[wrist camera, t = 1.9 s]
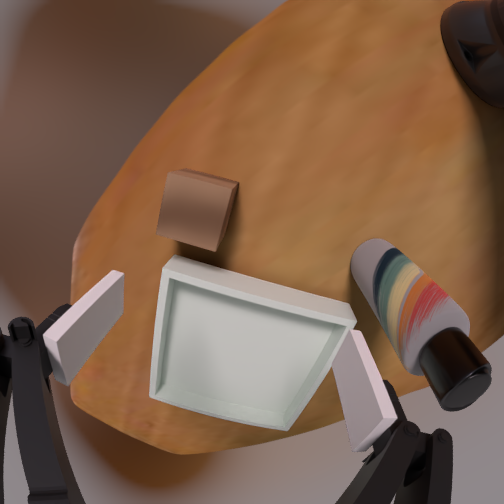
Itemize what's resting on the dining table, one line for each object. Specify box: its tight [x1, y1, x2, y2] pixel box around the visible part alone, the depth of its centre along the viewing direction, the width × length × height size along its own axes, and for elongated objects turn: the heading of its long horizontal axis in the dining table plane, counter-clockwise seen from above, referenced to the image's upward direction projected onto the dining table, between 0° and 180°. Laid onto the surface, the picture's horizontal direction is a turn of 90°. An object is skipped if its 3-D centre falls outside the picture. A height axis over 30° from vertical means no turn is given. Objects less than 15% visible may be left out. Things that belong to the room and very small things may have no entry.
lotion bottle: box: [351, 239, 492, 411], centre depth 19 cm, size 6×6×20 cm
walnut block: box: [156, 168, 239, 252], centre depth 25 cm, size 6×6×6 cm
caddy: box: [149, 254, 357, 431], centre depth 31 cm, size 20×20×5 cm
